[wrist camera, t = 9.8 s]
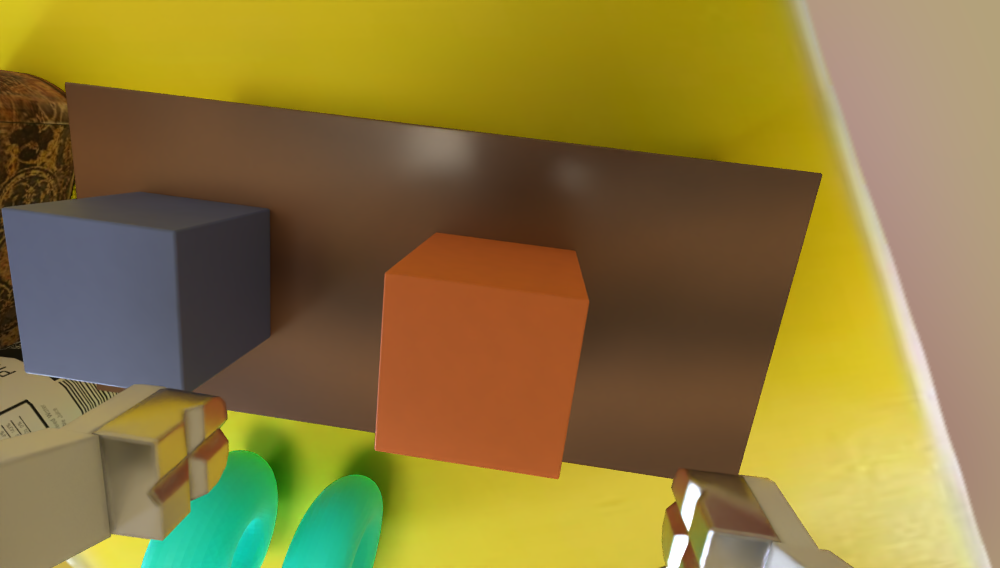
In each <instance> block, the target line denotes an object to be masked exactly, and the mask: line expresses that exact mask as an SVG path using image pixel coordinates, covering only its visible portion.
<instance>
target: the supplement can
mask: <svg viewBox="0 0 1000 568" xmlns="http://www.w3.org/2000/svg"><path fill="white" fill-rule="evenodd" d="M117 394H119V393H114V392H107V391H101V390H97V385H96V384H94V383H88V382H81V381H75V380H68V379H62V378H55V377H49V376H42V375H36V374H29V373H26V372H25V369H24V362H23V355H22V348H21V341H20V342H17V343H15V344H12V345H9V346H7V347H4V348H1V349H0V440H3V439H7V438H11V437H15V436H19V435H22V434H26V433H30V432H34V431H38V430H42V429H46V428H57V429H59V428H61V427H63V426H64V425H66V424H68V423H69V422H71V421H73V420H75V419H76V418H78V417H80V416H81V415H83V414H85V413H86V412H88V411H90V410H91V409H93V408H95V407H97V406H98V405H100V404H102V403H103V402H105V401H107V400H108V399H110V398H112V397H114V396H115V395H117Z"/></svg>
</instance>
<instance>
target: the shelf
mask: <svg viewBox="0 0 1000 568" xmlns="http://www.w3.org/2000/svg"><path fill="white" fill-rule="evenodd" d="M65 89H66V99H67V108H68V118H69V127H70V137H71V146H72V156H73V165H74V175H75V185H76V194H77V199H80V198H88V197H97V196H106V195H115V194H123V193H132V192H146V193H154V194H161V195H169V196H176V197H184V198H191V199H199V200H207V201H214V202H222V203H229V204H237V205H244V206H252V207H260V208H267V209H269V210H270V337H269V338H268V339H267V340H265V341H264V342H262V343H261V344H259V345H258V346H257V347H255V348H254V349H252V350H251V351H249V352H248V353H246V354H245V355H244V356H242V357H241V358H239V359H238V360H236V361H235V362H233V363H232V364H231V365H229V366H228V367H226V368H225V369H223V370H222V371H221V372H219V373H218V374H216V375H215V376H213V377H212V378H210V379H209V380H208V381H206V382H205V383H203V384H202V385H200V386H199V387H197V388H196V389H195V390H193V391H192V392H196V393H202V394H207V395H213V396H219V397H221V398H222V399H223V400H224V401H225V402H226V407H227V410H231V411H237V412H244V413H250V414H257V415H263V416H270V417H276V418H282V419H289V420H295V421H302V422H308V423H315V424H321V425H328V426H334V427H341V428H347V429H354V430H360V431H367V432H373V433H375V431H376V414H377V397H378V380H379V363H380V346H381V328H382V311H383V294H384V277H385V272H387V271H388V270H389V269H390V268H392V267H393V266H394V265H395V264H397V263H398V262H399V261H401V260H402V259H403V258H404V257H406V256H407V255H408V254H409V253H411V252H412V251H413V250H414V249H416V248H417V247H418V246H419V245H421V244H422V243H423V242H425V241H426V240H427V239H428V238H430V237H431V236H432V235H433V234H435V233H445V234H452V235H460V236H467V237H475V238H483V239H490V240H498V241H505V242H513V243H520V244H528V245H535V246H543V247H550V248H558V249H566V250H573V251H576V254H577V258H578V262H579V265H580V269H581V273H582V277H583V280H584V284H585V288H586V291H587V295H588V299H589V307H588V313H587V319H586V325H585V330H584V336H583V342H582V348H581V354H580V359H579V365H578V371H577V377H576V383H575V388H574V394H573V400H572V406H571V412H570V417H569V423H568V429H567V435H566V441H565V446H564V452H563V458H562V462H568V463H574V464H581V465H587V466H594V467H600V468H607V469H613V470H620V471H626V472H632V473H639V474H645V475H652V476H658V477H665V478H671V479H674V476H675V473H676V472H677V470H678V468H679V467H680V468H688V469H695V470H703V471H711V472H719V473H726V474H734V475H738V473H739V470H740V466H741V463H742V459H743V455H744V452H745V448H746V445H747V441H748V438H749V434H750V430H751V427H752V423H753V420H754V416H755V413H756V409H757V406H758V402H759V398H760V395H761V391H762V388H763V384H764V381H765V377H766V373H767V370H768V366H769V363H770V359H771V356H772V352H773V349H774V345H775V341H776V338H777V334H778V331H779V327H780V324H781V320H782V316H783V313H784V309H785V306H786V302H787V299H788V295H789V292H790V288H791V284H792V281H793V277H794V274H795V270H796V267H797V263H798V259H799V256H800V252H801V249H802V245H803V242H804V238H805V235H806V231H807V227H808V224H809V220H810V217H811V213H812V210H813V206H814V202H815V199H816V195H817V192H818V188H819V185H820V181H821V178H822V174H821V173H814V172H806V171H797V170H789V169H781V168H773V167H764V166H756V165H748V164H740V163H731V162H723V161H715V160H706V159H698V158H690V157H682V156H673V155H665V154H657V153H649V152H640V151H632V150H624V149H616V148H607V147H599V146H591V145H582V144H574V143H566V142H558V141H549V140H541V139H533V138H525V137H516V136H508V135H500V134H492V133H483V132H475V131H467V130H458V129H450V128H442V127H434V126H425V125H417V124H409V123H401V122H392V121H384V120H376V119H368V118H359V117H351V116H343V115H335V114H326V113H318V112H310V111H301V110H293V109H285V108H277V107H268V106H260V105H252V104H244V103H235V102H227V101H219V100H211V99H202V98H194V97H186V96H177V95H169V94H161V93H153V92H144V91H136V90H128V89H120V88H111V87H103V86H95V85H87V84H78V83H70V82H66V83H65ZM96 385H97V390H101V391H107V392H114V393H120V392H122V391H124V390H125V389H127V388H120V387H114V386H107V385H101V384H96Z"/></svg>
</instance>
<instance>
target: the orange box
mask: <svg viewBox="0 0 1000 568" xmlns="http://www.w3.org/2000/svg"><path fill="white" fill-rule="evenodd" d="M588 307H589V299H588V295H587V291H586V288H585V284H584V280H583V277H582V273H581V269H580V265H579V262H578V258H577V254H576V251H573V250H566V249H558V248H550V247H543V246H535V245H528V244H520V243H513V242H505V241H498V240H490V239H483V238H475V237H467V236H460V235H452V234H445V233H435V234H433V235H432V236H431V237H430V238H428V239H427V240H426V241H425V242H423V243H422V244H421V245H419V246H418V247H417V248H416V249H414V250H413V251H412V252H411V253H409V254H408V255H407V256H406V257H404V258H403V259H402V260H401V261H399V262H398V263H397V264H395V265H394V266H393V267H392V268H390V269H389V270H388V271H387V272H385V277H384V294H383V311H382V328H381V346H380V363H379V380H378V397H377V414H376V431H375V450H376V451H381V452H387V453H394V454H400V455H407V456H413V457H419V458H426V459H432V460H439V461H445V462H451V463H458V464H464V465H471V466H477V467H483V468H490V469H496V470H502V471H509V472H515V473H522V474H528V475H534V476H541V477H547V478H554V479H558V478H559V475H560V470H561V464H562V458H563V452H564V446H565V441H566V435H567V429H568V423H569V417H570V412H571V406H572V400H573V394H574V388H575V383H576V377H577V371H578V365H579V359H580V354H581V348H582V342H583V336H584V330H585V325H586V319H587V313H588Z"/></svg>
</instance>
